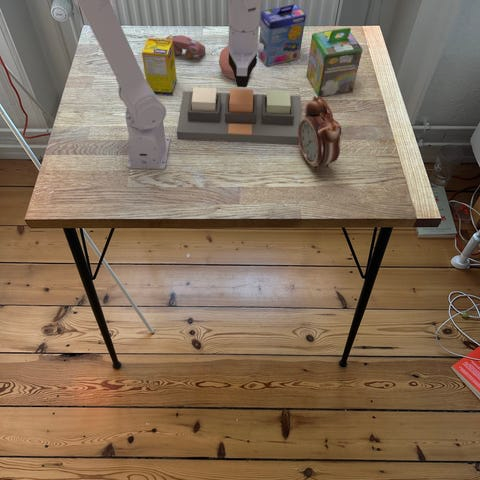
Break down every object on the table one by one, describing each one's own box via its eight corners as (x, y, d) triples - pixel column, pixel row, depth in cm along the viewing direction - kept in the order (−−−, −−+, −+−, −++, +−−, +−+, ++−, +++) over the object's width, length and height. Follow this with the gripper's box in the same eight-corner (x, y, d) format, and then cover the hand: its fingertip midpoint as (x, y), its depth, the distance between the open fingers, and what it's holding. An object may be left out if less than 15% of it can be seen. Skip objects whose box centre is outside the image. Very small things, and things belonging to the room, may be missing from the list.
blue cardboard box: (266, 68, 126) (270, 12, 115) (256, 56, 129) (260, 0, 118) (301, 59, 129) (308, 3, 118) (290, 47, 132) (297, -8, 121)
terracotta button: (252, 115, 110) (252, 104, 107) (229, 114, 110) (229, 103, 107) (252, 101, 113) (253, 89, 110) (230, 100, 113) (230, 88, 110)
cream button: (215, 114, 110) (215, 102, 107) (192, 113, 110) (191, 101, 107) (216, 99, 113) (216, 88, 110) (194, 98, 113) (193, 87, 110)
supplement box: (176, 80, 122) (173, 38, 114) (172, 95, 119) (168, 54, 110) (152, 78, 123) (147, 36, 114) (147, 93, 119) (141, 51, 110)
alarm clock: (293, 146, 109) (302, 88, 97) (313, 141, 111) (324, 83, 99) (315, 181, 103) (327, 123, 91) (336, 175, 104) (351, 117, 93)
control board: (301, 144, 110) (304, 127, 106) (177, 138, 110) (175, 122, 106) (299, 103, 118) (301, 86, 115) (183, 98, 118) (182, 81, 115)
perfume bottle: (230, 88, 121) (231, 42, 112) (212, 72, 125) (211, 26, 115) (256, 77, 124) (259, 31, 114) (238, 61, 128) (239, 16, 118)
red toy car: (166, 58, 131) (159, 42, 124) (171, 42, 131) (164, 26, 124) (202, 65, 129) (197, 50, 122) (207, 49, 130) (202, 33, 123)
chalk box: (339, 70, 127) (351, 13, 115) (353, 92, 121) (367, 35, 110) (304, 75, 125) (313, 17, 113) (317, 97, 120) (327, 40, 108)
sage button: (289, 117, 110) (290, 105, 107) (266, 116, 110) (267, 104, 107) (288, 102, 113) (289, 91, 110) (266, 101, 113) (267, 90, 110)
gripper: (264, 46, 91) (260, 107, 102) (265, 5, 100) (261, 65, 111) (225, 45, 91) (225, 106, 102) (229, 3, 100) (228, 64, 111)
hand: (241, 85), depth 107 cm, fingers closed
